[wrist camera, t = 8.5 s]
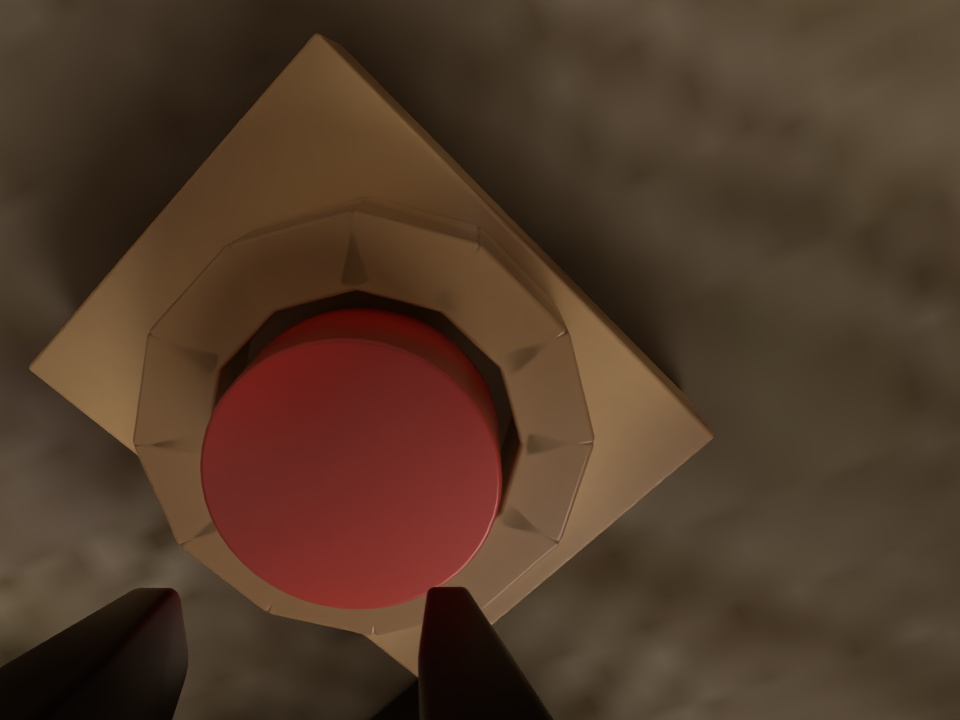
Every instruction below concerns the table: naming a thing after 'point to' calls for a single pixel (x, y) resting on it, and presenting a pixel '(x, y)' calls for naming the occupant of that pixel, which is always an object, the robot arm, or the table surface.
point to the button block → (377, 285)
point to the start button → (355, 460)
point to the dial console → (403, 706)
